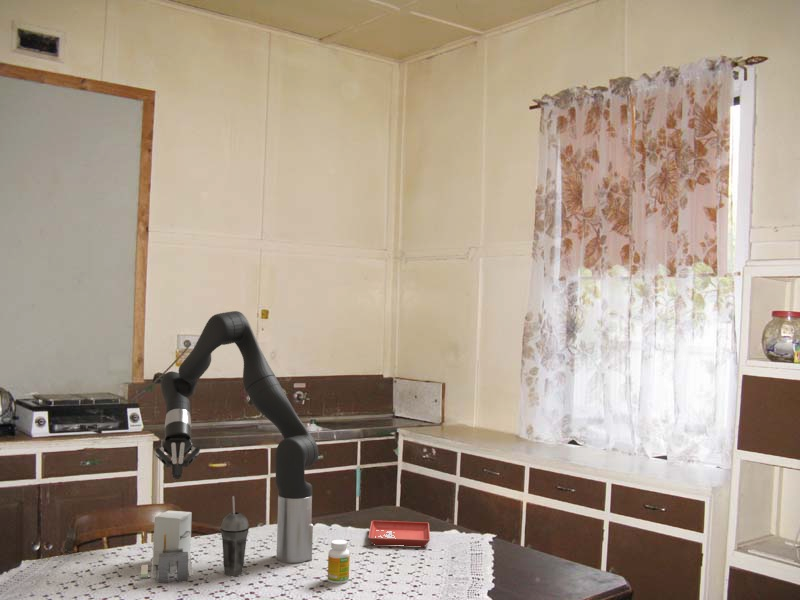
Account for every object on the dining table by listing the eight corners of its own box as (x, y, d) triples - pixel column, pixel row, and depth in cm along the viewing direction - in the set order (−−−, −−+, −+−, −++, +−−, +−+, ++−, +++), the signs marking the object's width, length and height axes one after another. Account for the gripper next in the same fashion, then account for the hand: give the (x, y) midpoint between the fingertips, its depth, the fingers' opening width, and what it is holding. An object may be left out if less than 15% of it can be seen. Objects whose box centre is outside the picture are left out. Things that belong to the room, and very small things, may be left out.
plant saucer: (430, 550, 223) (430, 539, 223) (367, 548, 223) (368, 537, 223) (428, 532, 241) (428, 522, 241) (371, 531, 241) (371, 520, 241)
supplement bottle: (340, 585, 191) (341, 546, 191) (323, 581, 194) (324, 542, 194) (353, 579, 195) (354, 541, 196) (336, 575, 198) (337, 537, 198)
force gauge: (190, 555, 211) (191, 532, 211) (193, 581, 191) (194, 555, 191) (141, 559, 207) (142, 535, 207) (140, 585, 187) (141, 558, 188)
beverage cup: (253, 571, 200) (255, 493, 200) (238, 579, 193) (240, 499, 193) (228, 567, 202) (231, 490, 202) (213, 576, 195) (215, 496, 196)
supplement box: (177, 567, 200) (179, 518, 200) (151, 564, 202) (153, 516, 202) (191, 558, 207) (192, 511, 208) (165, 556, 209) (167, 509, 209)
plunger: (182, 565, 200) (183, 532, 201) (183, 578, 191) (184, 544, 191) (162, 566, 199) (163, 533, 199) (162, 579, 189) (163, 545, 190)
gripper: (155, 420, 225) (153, 471, 213) (201, 420, 229) (202, 469, 217) (154, 435, 230) (152, 485, 218) (200, 435, 234) (200, 484, 222)
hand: (177, 477), depth 218 cm, fingers closed
